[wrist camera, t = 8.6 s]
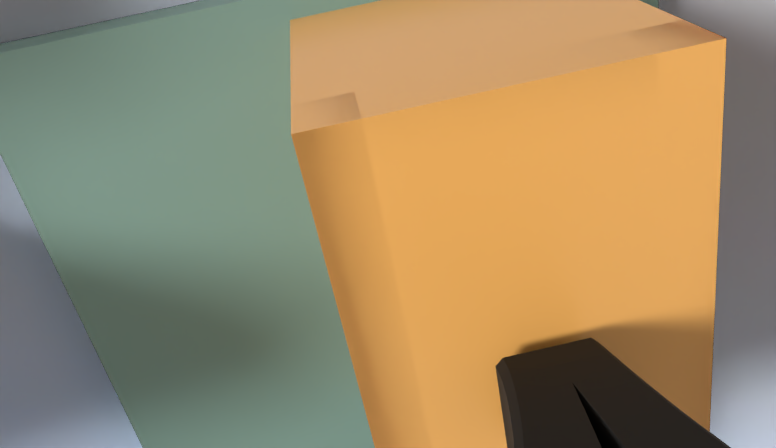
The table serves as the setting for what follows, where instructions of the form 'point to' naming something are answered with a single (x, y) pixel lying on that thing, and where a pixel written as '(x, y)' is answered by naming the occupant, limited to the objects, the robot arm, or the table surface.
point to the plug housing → (510, 197)
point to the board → (186, 221)
